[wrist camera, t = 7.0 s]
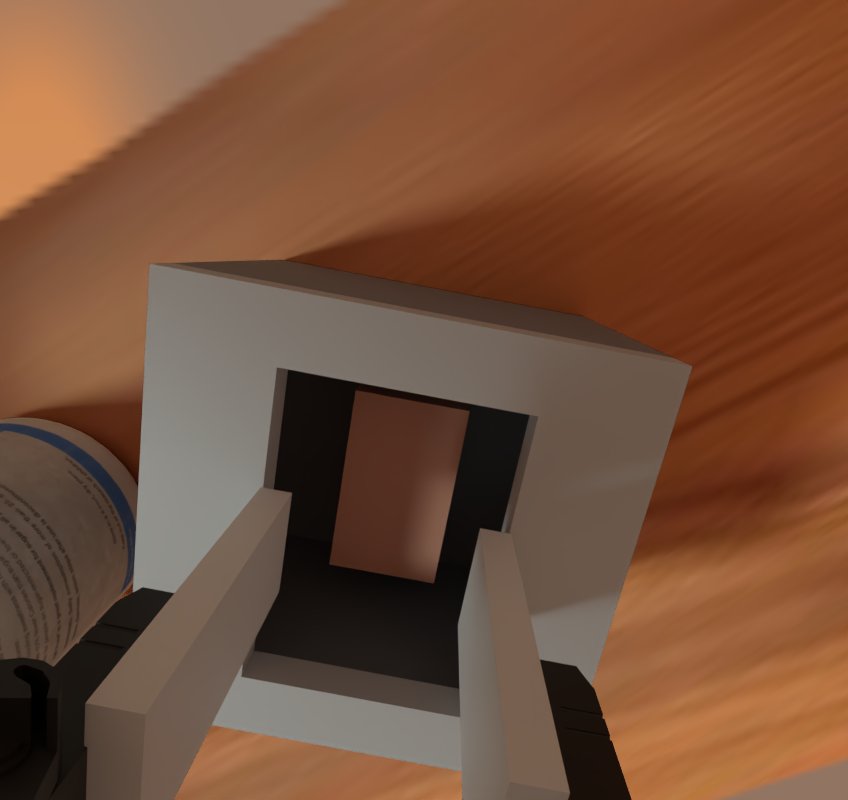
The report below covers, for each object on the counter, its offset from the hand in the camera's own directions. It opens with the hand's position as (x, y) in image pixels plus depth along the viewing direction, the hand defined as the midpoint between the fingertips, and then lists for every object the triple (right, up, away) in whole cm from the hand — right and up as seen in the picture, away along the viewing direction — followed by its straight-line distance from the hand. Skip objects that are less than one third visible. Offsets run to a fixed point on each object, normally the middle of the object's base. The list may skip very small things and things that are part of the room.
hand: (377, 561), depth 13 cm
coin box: (0, +3, +10) cm, 10 cm away
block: (0, +2, +9) cm, 9 cm away
